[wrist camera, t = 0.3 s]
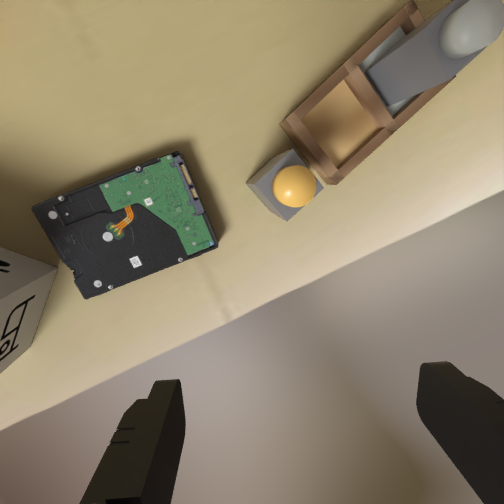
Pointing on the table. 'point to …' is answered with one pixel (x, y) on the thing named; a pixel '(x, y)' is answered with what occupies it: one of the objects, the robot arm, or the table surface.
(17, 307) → the icon cube
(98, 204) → the disk drive
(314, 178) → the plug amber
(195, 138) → the table surface
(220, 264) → the table surface
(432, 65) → the plug grey
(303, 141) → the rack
